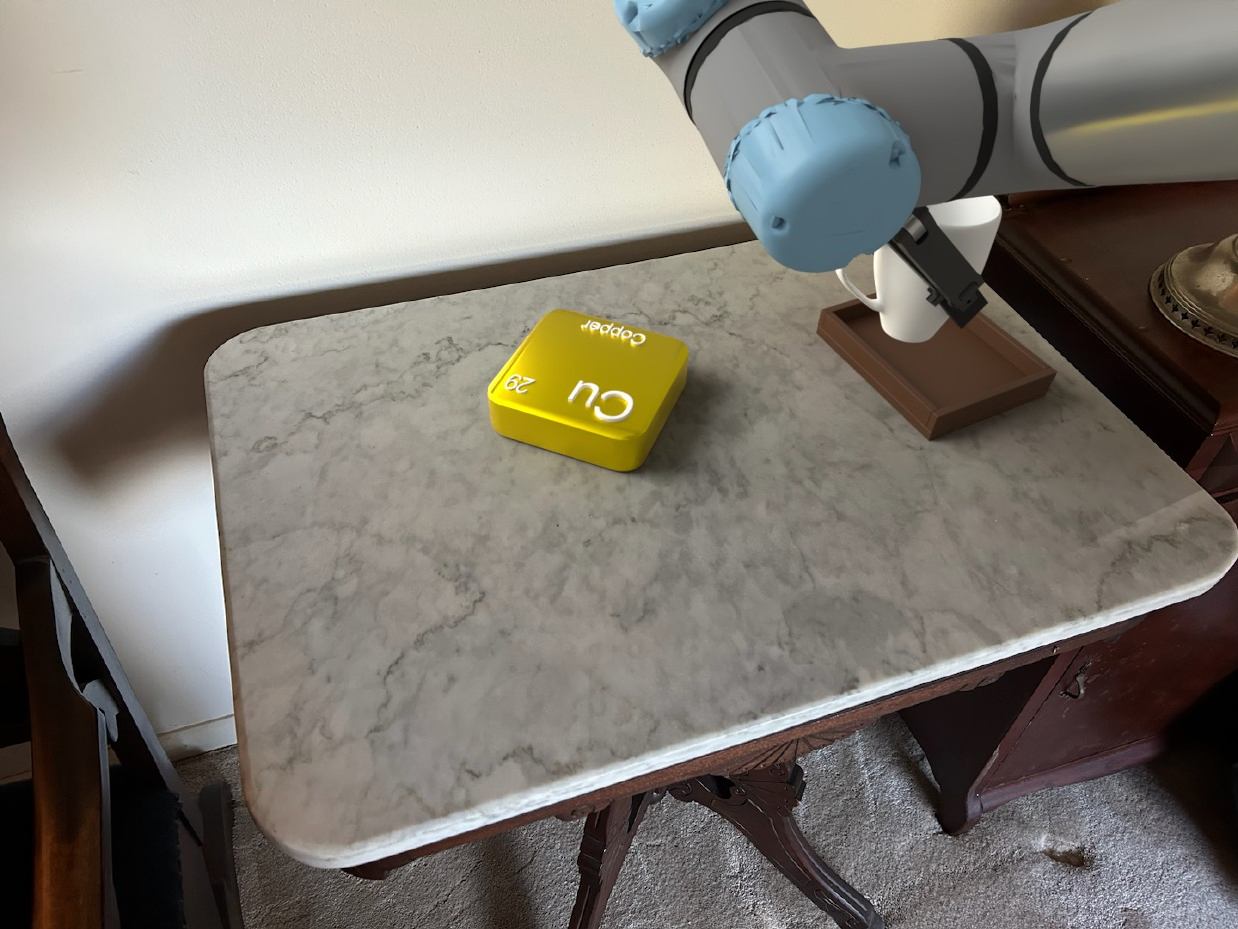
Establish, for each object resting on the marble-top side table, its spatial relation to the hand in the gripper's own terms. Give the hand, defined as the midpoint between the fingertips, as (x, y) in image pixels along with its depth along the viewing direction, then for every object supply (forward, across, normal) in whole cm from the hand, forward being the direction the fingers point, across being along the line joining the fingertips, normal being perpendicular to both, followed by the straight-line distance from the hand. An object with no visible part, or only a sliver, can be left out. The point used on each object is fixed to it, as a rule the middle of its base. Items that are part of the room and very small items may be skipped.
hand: (932, 282), depth 69 cm
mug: (0, 0, -5) cm, 5 cm away
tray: (+16, -4, -4) cm, 18 cm away
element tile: (-7, -14, -28) cm, 32 cm away
